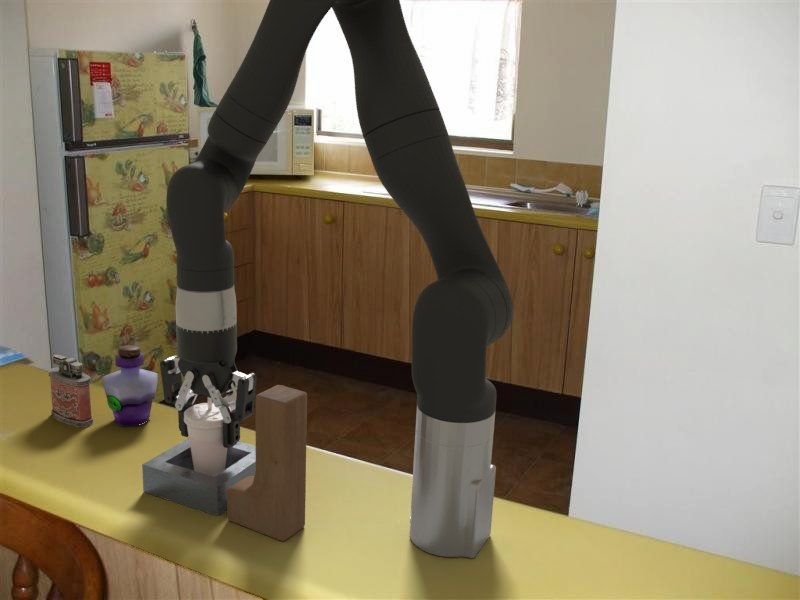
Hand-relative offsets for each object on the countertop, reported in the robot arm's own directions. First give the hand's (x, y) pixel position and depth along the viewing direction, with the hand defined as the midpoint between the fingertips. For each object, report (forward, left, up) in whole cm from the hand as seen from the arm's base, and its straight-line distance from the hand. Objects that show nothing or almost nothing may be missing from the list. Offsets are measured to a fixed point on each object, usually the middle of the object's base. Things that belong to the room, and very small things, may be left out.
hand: (209, 439), depth 112 cm
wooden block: (-12, +5, -7) cm, 15 cm away
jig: (0, 0, -7) cm, 7 cm away
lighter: (+31, -6, -7) cm, 32 cm away
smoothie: (0, 0, -6) cm, 6 cm away
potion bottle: (+23, -10, -7) cm, 26 cm away
